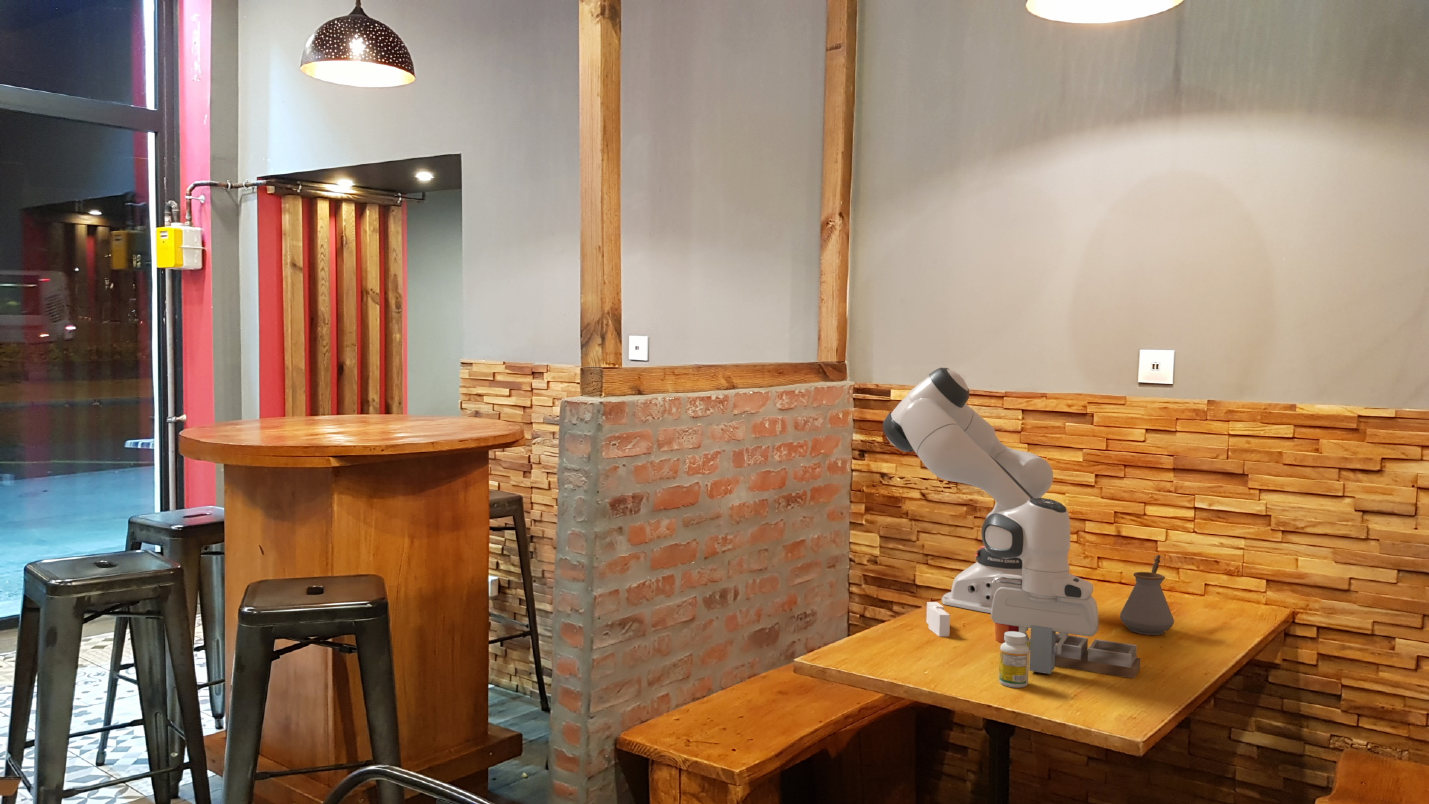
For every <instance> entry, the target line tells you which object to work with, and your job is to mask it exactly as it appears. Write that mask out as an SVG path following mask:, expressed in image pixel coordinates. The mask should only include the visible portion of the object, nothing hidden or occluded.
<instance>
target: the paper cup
mask: <svg viewBox="0 0 1429 804" xmlns="http://www.w3.org/2000/svg"><path fill="white" fill-rule="evenodd" d="M1000 577H1006V578H1016V579H1022V576H1019V575H1011V574H1001V575H996V577H995V578H994V580H995V579H998V578H1000ZM994 580H993V581H994ZM993 581H992V583H993ZM997 582H999V581H997ZM994 628H995V629H994V630H995V635H994V636H995V641H996V642H998V643H1000V644H1003V643H1005V642H1006V641H1005V640H1004V633H1005V632H1009V631H1014V632H1019V626H1013V625H1006V624H999V623H994Z"/></svg>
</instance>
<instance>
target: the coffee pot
mask: <svg viewBox="0 0 1429 804" xmlns="http://www.w3.org/2000/svg"><path fill="white" fill-rule="evenodd" d="M1161 558H1162V559H1163V560H1162V561H1161ZM1153 560H1154V563H1153V564H1152V569H1151V572H1148V571H1137V572H1134V573H1132V574H1133V576H1134V578H1135V584H1134V587H1132V591H1131V592H1130V594H1129V597H1128V598H1127V600H1126V602H1125V603H1124V606H1123V608H1122V610H1121V611H1120V614H1119V617H1120V620H1121V622H1122V623H1123V625H1125V626H1126V627H1127V628H1128V630H1129V631H1130V632H1133V633H1137V634H1142V635H1147V636H1148V635H1150V636H1158V635H1164V634H1165V632H1167V631H1168V630H1170V629H1171V628H1172V627H1173V625H1174V624H1175V619H1174V617H1173V614H1172V612H1171V609H1170V606H1169V604H1168V601H1167V599H1166V596H1165V593H1164V591H1163V588H1162V586H1161V584H1162V583H1163V581H1164V580H1165V579H1166V576H1164V575H1163V574H1161V573H1157V572H1158V569H1159V567H1160V565H1159V564H1160V563H1164V561H1165V558H1164V556H1161V555H1160V554H1157V555H1156V556H1154V557H1153Z"/></svg>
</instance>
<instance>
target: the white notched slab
mask: <svg viewBox="0 0 1429 804" xmlns="http://www.w3.org/2000/svg"><path fill="white" fill-rule="evenodd" d="M925 620H926V624H928V627H927V628H928V629H929V630H930V631H931V632H933V633H934V634H936V635H937V636H938V637H939V638H940V637H950V629H951V628H950V627H951V625H950V623H951V614H949V612H947V611H946V610H945V607H944V606H943V605H942V604H940V603H939V602H938V601H927V602H926V619H925Z"/></svg>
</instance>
